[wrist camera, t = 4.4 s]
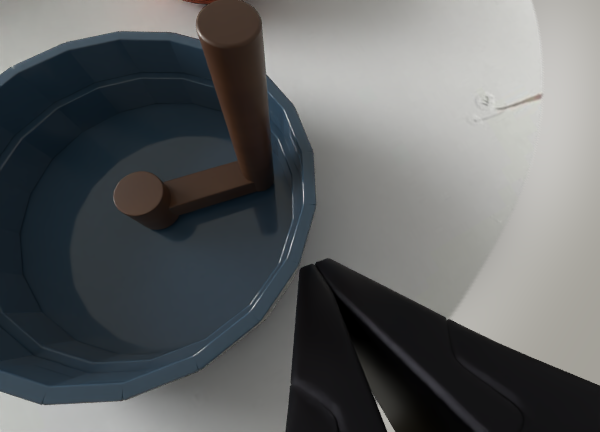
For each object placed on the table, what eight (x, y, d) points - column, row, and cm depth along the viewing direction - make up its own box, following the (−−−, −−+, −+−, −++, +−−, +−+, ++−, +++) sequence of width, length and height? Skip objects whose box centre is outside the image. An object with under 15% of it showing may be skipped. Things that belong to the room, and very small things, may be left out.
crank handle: (279, 192, 17) (273, 46, 8) (142, 235, 16) (-71, 125, 6) (267, 159, 18) (247, -16, 8) (135, 197, 17) (-70, 46, 7)
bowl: (350, 303, 16) (377, 301, 12) (22, 430, 14) (-115, 495, 9) (259, 72, 21) (251, 3, 16) (1, 135, 18) (-97, 75, 14)
